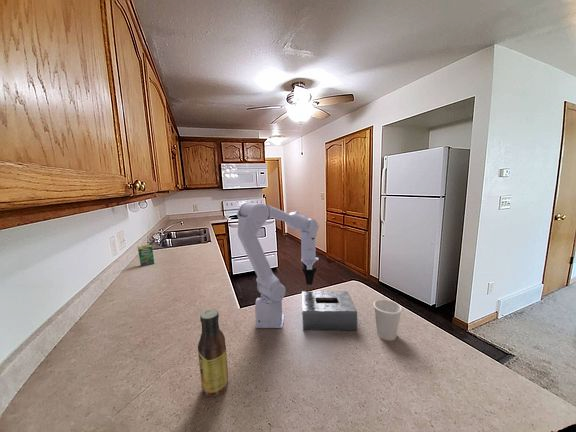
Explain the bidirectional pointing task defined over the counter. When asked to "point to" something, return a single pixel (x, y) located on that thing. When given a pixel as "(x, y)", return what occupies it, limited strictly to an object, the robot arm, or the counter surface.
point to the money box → (328, 311)
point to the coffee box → (146, 255)
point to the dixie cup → (387, 318)
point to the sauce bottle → (212, 355)
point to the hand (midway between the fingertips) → (308, 280)
